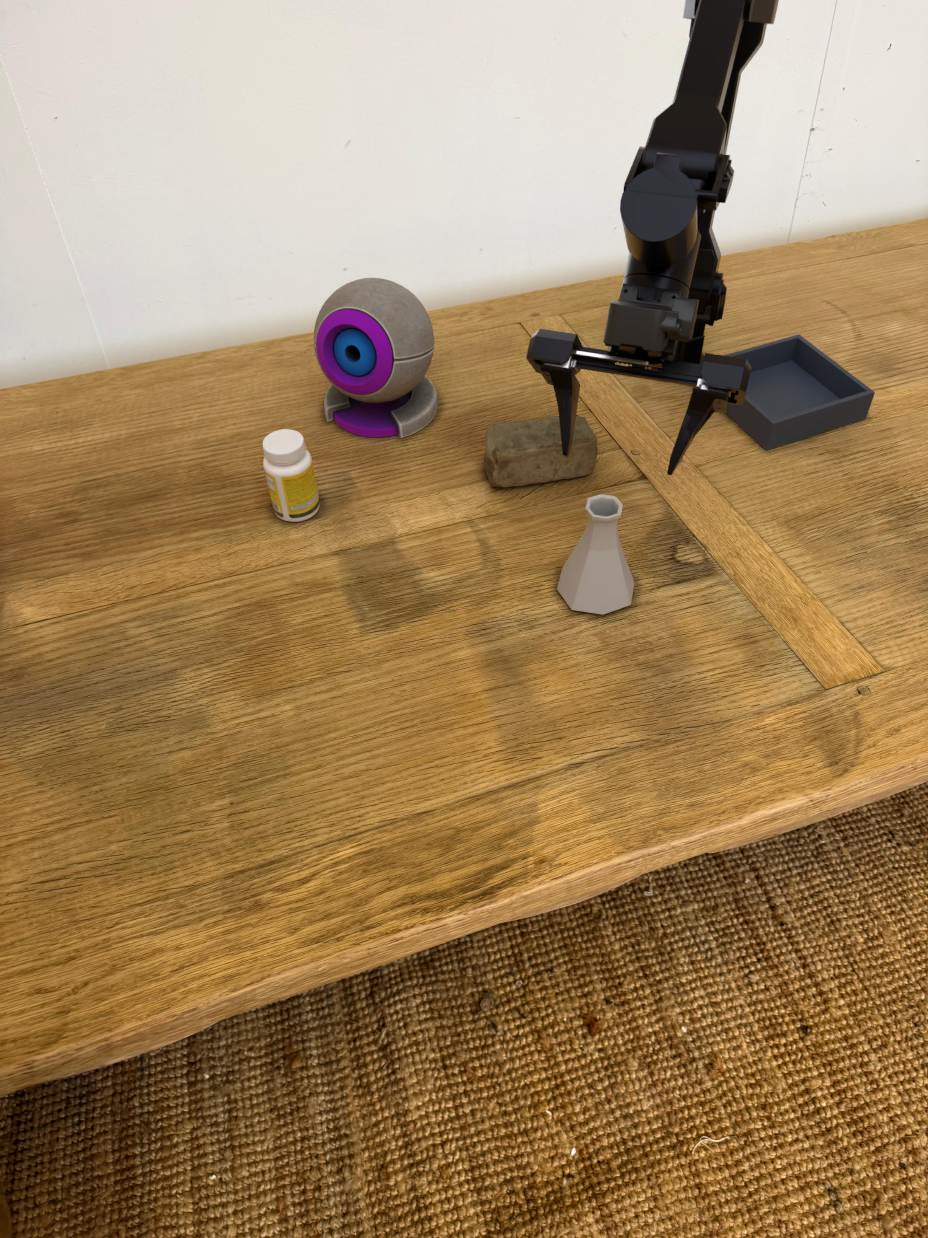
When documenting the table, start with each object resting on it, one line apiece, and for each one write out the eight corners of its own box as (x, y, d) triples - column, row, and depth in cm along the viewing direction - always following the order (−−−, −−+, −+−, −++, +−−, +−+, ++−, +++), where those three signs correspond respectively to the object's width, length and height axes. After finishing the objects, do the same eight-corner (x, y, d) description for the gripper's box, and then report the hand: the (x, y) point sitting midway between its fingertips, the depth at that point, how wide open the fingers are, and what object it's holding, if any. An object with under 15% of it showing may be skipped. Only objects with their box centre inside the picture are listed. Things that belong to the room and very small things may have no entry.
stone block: (598, 478, 98) (601, 439, 94) (491, 495, 96) (490, 456, 93) (582, 445, 102) (585, 406, 98) (479, 461, 100) (477, 423, 97)
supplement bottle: (328, 498, 97) (316, 431, 91) (308, 527, 94) (294, 460, 88) (286, 489, 98) (272, 422, 92) (265, 518, 95) (249, 451, 89)
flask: (551, 564, 89) (555, 482, 82) (626, 558, 89) (637, 475, 82) (562, 619, 84) (568, 537, 77) (642, 613, 85) (655, 530, 77)
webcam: (305, 426, 105) (282, 303, 94) (356, 367, 113) (340, 247, 102) (410, 450, 102) (399, 325, 91) (455, 387, 110) (450, 265, 99)
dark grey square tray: (697, 387, 108) (702, 361, 106) (792, 360, 112) (799, 333, 109) (766, 450, 100) (773, 423, 97) (866, 419, 103) (875, 391, 101)
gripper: (535, 237, 75) (494, 430, 76) (774, 266, 71) (727, 471, 72) (556, 283, 86) (520, 452, 87) (764, 311, 81) (724, 489, 82)
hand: (616, 465), depth 82 cm, fingers open, 9 cm apart
